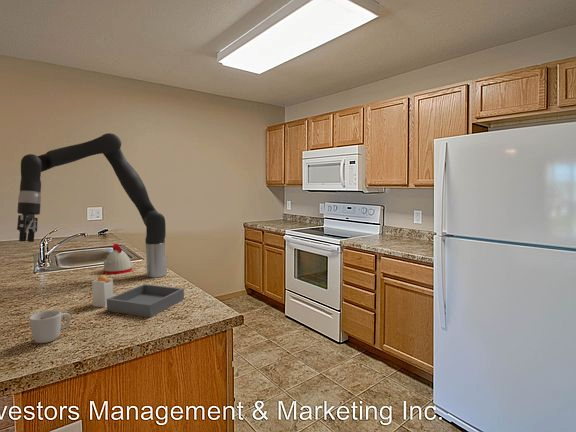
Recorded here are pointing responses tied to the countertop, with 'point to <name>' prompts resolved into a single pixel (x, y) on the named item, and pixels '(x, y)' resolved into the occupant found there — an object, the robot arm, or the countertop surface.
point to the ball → (102, 278)
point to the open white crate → (102, 292)
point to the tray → (145, 300)
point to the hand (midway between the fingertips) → (26, 241)
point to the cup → (47, 325)
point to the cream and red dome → (117, 262)
